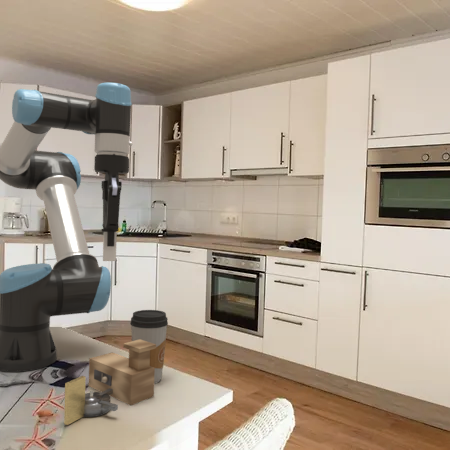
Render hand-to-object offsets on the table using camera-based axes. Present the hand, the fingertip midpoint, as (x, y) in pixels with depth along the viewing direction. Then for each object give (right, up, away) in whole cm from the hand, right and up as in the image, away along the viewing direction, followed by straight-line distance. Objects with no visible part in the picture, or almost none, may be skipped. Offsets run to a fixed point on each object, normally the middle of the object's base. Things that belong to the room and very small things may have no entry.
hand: (109, 260), depth 107 cm
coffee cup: (+9, -27, 0) cm, 28 cm away
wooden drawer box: (+4, -27, -7) cm, 28 cm away
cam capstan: (+1, -27, -17) cm, 32 cm away
